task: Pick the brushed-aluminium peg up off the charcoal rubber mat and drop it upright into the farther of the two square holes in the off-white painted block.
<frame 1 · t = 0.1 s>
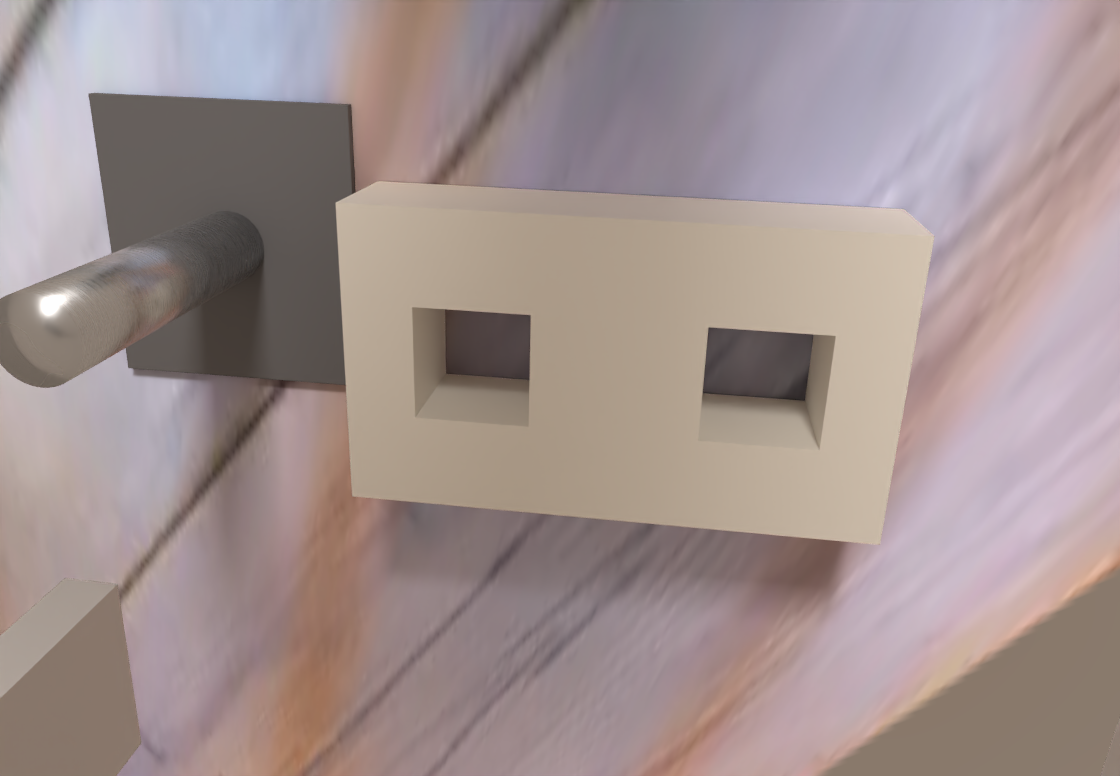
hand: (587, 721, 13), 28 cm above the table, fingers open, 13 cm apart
hole block: (624, 337, 40), on the table
mat: (234, 243, 41), on the table
peg: (230, 245, 40), resting on mat
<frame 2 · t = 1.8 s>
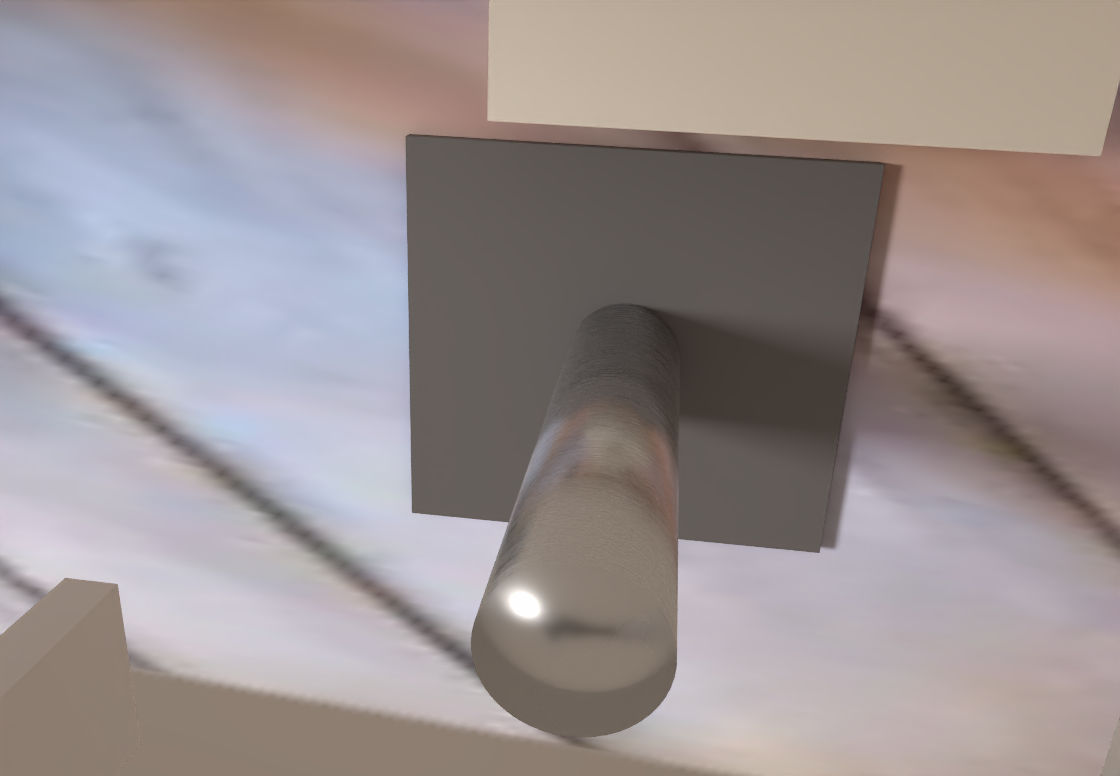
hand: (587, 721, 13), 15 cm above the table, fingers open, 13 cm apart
mat: (625, 351, 26), on the table
peg: (624, 356, 26), resting on mat
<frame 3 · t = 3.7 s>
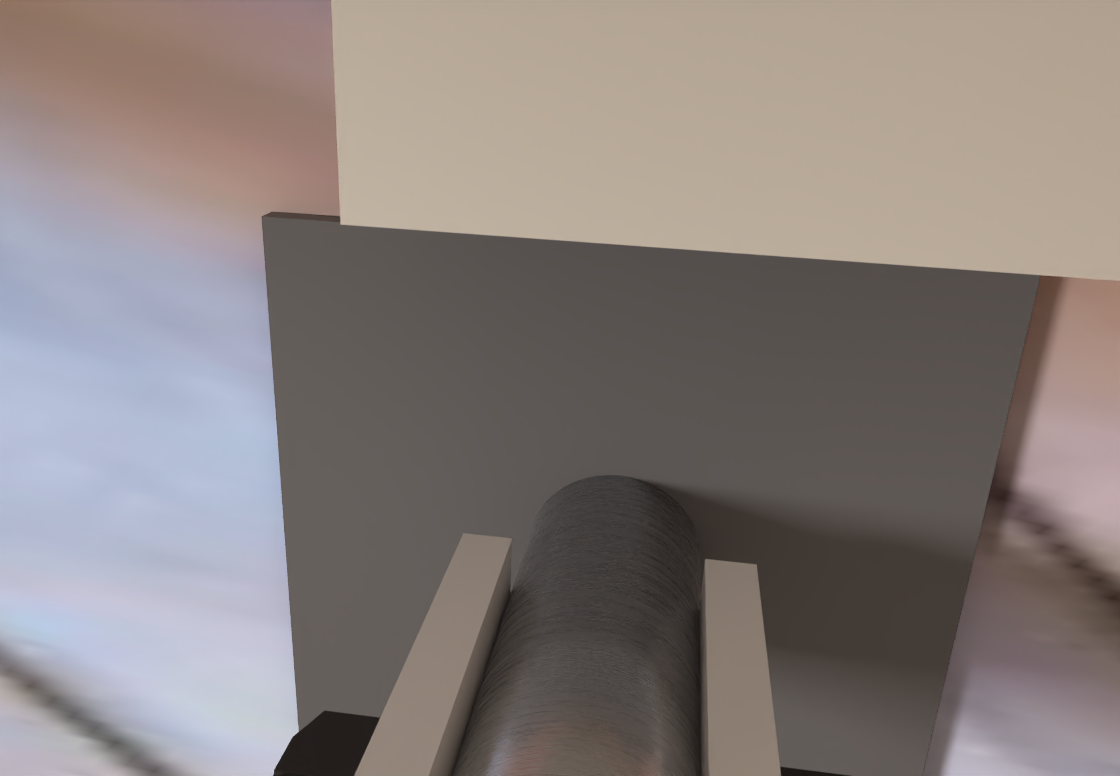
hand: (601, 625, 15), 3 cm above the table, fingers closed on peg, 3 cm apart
mat: (613, 540, 17), on the table
peg: (613, 552, 17), resting on mat, touching gripper
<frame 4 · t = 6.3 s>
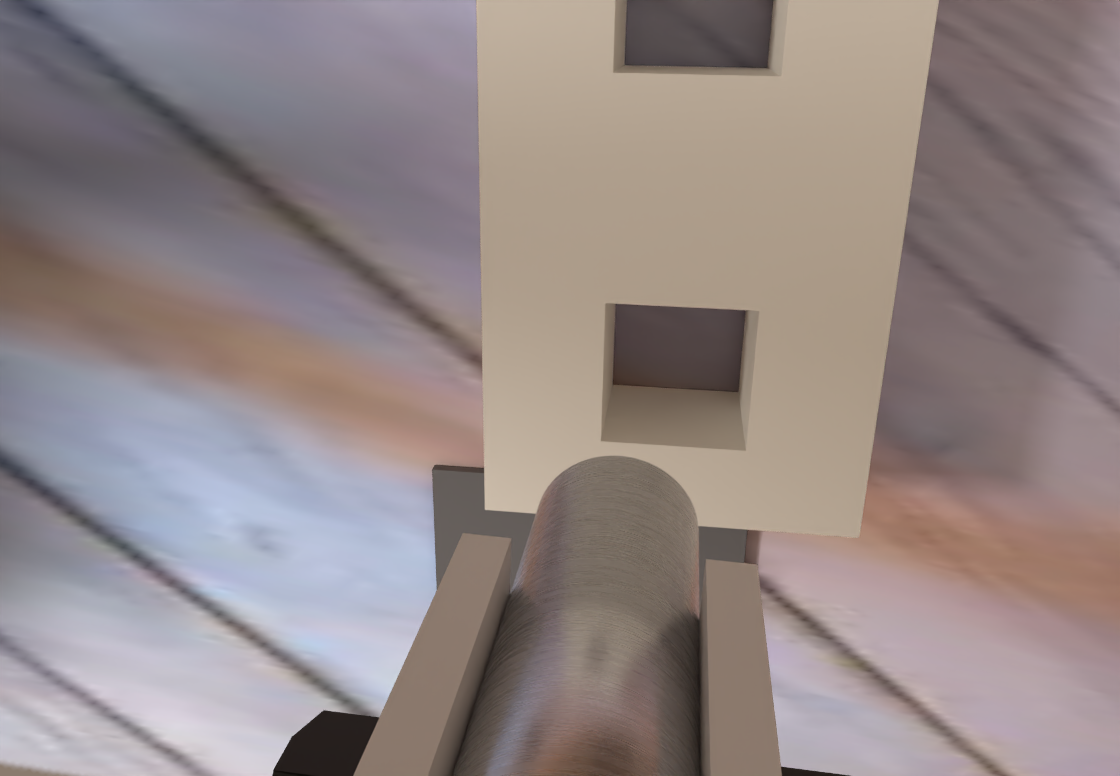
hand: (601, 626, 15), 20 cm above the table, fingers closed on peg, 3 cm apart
hole block: (688, 170, 31), on the table
mat: (586, 599, 38), on the table
peg: (616, 529, 17), point 17 cm above the table, touching gripper
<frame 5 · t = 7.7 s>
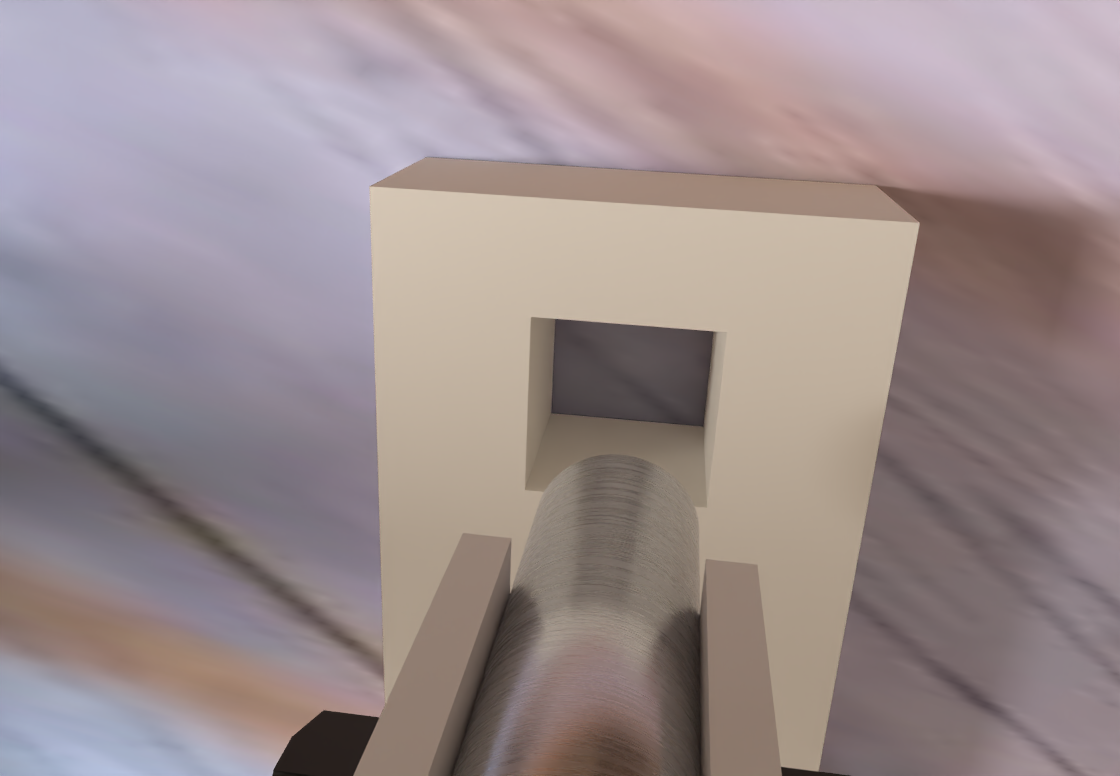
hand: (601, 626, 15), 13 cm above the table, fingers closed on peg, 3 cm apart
hole block: (619, 516, 29), on the table
peg: (616, 528, 17), point 10 cm above the table, touching gripper
when the fingers open (6 cm above the table, at t = 9.0 s): peg drops 2 cm, resting in hole block.
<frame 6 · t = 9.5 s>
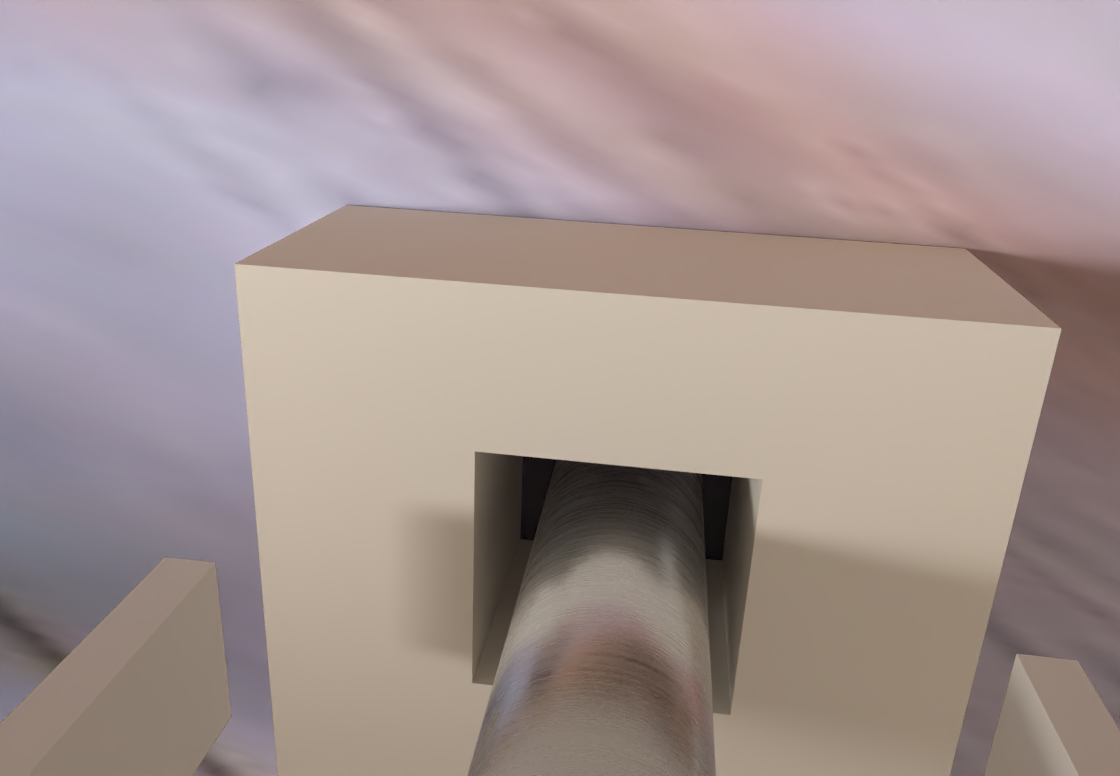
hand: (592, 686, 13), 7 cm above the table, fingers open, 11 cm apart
hole block: (610, 669, 22), on the table
peg: (629, 458, 20), resting in hole block
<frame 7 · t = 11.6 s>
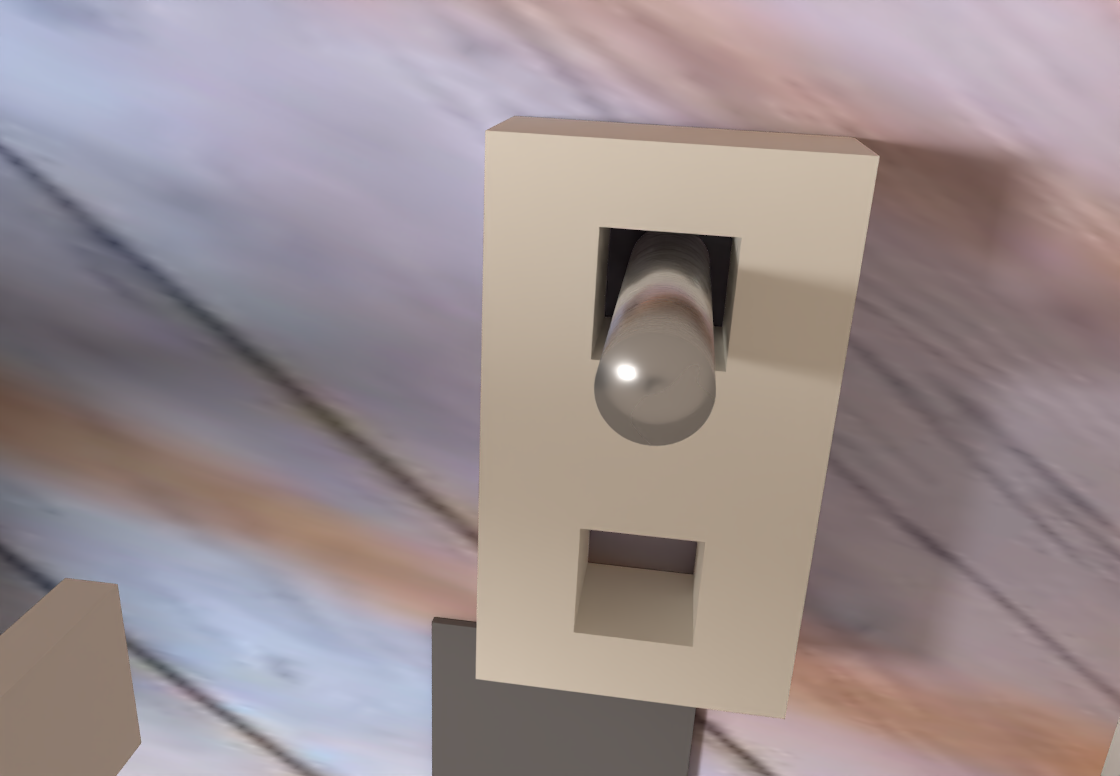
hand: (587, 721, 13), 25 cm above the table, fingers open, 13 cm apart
hole block: (655, 400, 37), on the table
mat: (560, 732, 44), on the table
peg: (669, 264, 35), resting in hole block
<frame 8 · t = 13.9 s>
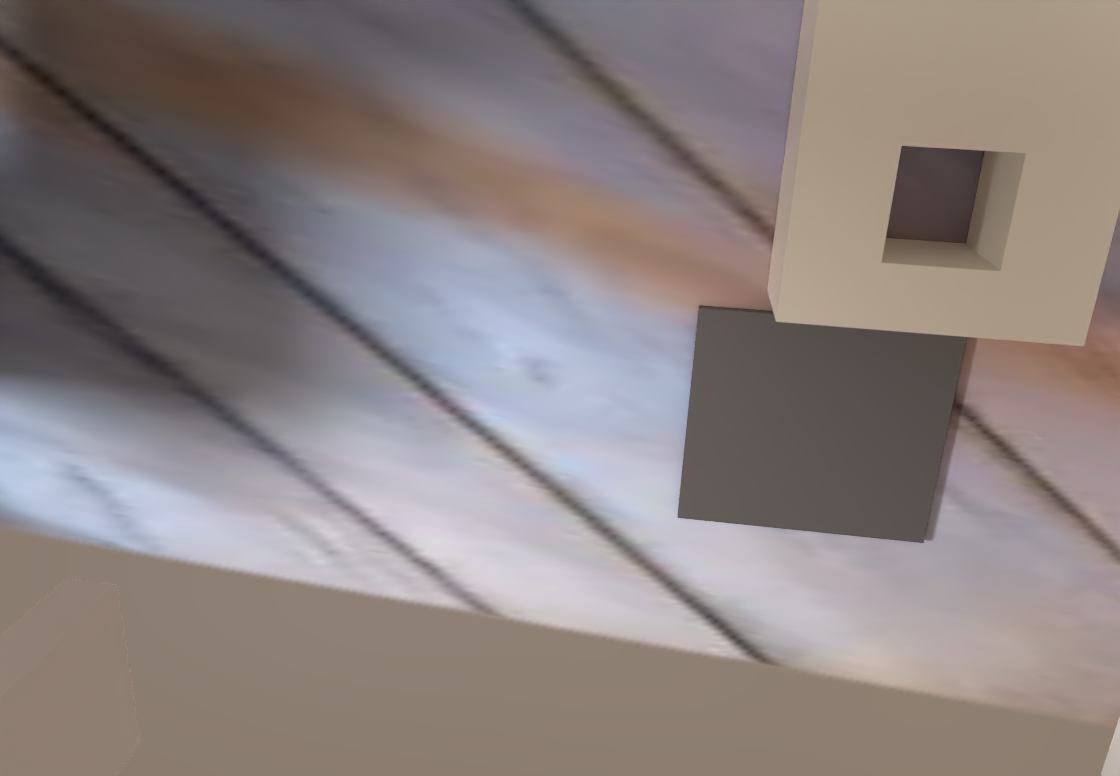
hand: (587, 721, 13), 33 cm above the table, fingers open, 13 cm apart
hole block: (947, 53, 39), on the table
mat: (813, 425, 45), on the table
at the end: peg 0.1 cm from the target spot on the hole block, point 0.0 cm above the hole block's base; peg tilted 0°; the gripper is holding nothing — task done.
